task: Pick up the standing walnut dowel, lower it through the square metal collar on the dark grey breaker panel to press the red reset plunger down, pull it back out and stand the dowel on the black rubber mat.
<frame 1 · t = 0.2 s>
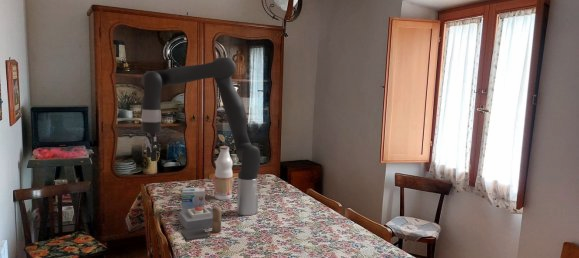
hand: (151, 159, 157), 29 cm above the table, fingers open, 8 cm apart
dowel: (216, 231, 158), on the table
fruit juice: (223, 198, 205), on the table
mat: (195, 234, 153), on the table
light bulb box: (192, 211, 181), on the table
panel: (198, 223, 166), on the table
plunger: (198, 212, 165), point 5 cm above the table, slide at 0.0 cm
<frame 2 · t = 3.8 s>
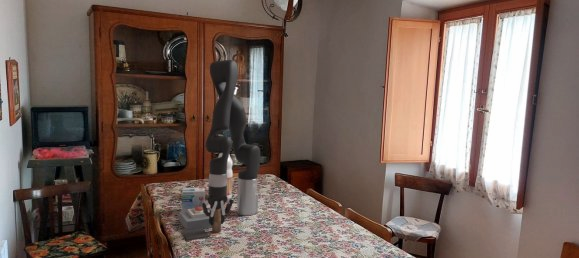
hand: (216, 223, 157), 3 cm above the table, fingers closed on dowel, 3 cm apart
dowel: (216, 231, 158), on the table, touching gripper
everything else where it was.
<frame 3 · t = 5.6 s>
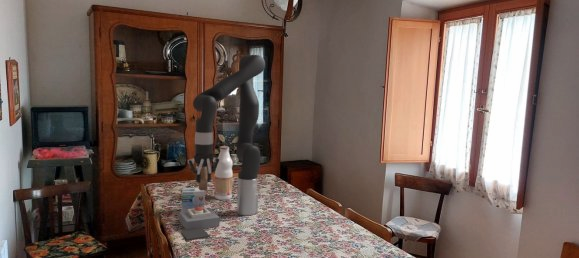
hand: (203, 181, 162), 19 cm above the table, fingers closed on dowel, 3 cm apart
dowel: (203, 189, 163), point 16 cm above the table, touching gripper
everything else where it was.
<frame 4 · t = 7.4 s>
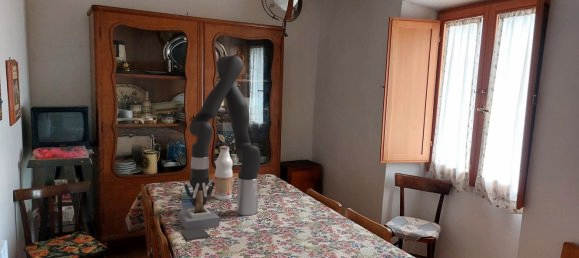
hand: (198, 205, 165), 8 cm above the table, fingers closed on dowel, 3 cm apart
dowel: (198, 212, 165), point 5 cm above the table, touching gripper, plunger
plunger: (198, 217, 166), point 3 cm above the table, slide at 2.1 cm, touching dowel
everything else where it was.
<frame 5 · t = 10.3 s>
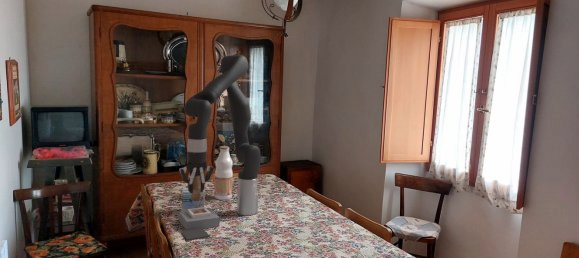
hand: (196, 192, 151), 18 cm above the table, fingers closed on dowel, 3 cm apart
dowel: (195, 199, 152), point 15 cm above the table, touching gripper
plunger: (198, 217, 166), point 3 cm above the table, slide at 2.1 cm
everything else where it was.
when the fingers open (4 cm above the table, at t = 12.9 s): dowel stays where it is, resting on mat.
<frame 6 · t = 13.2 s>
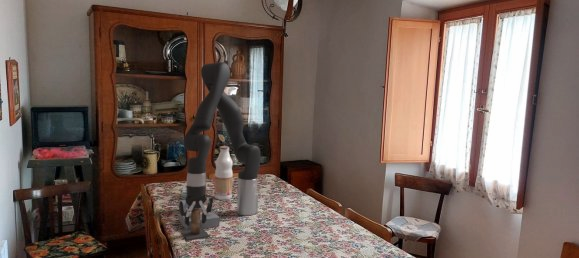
hand: (195, 223, 153), 5 cm above the table, fingers open, 6 cm apart
dowel: (195, 233, 153), point 1 cm above the table, touching mat
everything else where it was.
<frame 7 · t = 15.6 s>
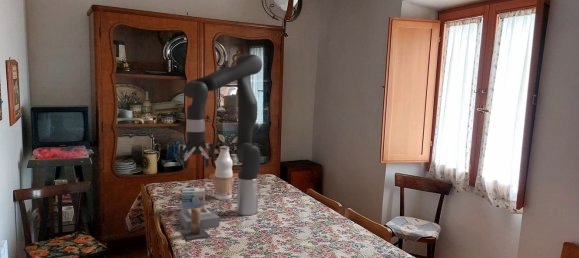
hand: (195, 168, 158), 26 cm above the table, fingers open, 8 cm apart
nothing on the table moved.
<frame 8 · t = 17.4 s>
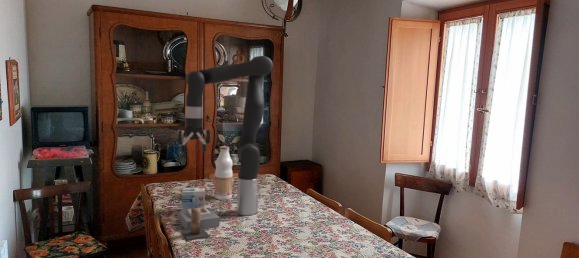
hand: (193, 152, 168), 30 cm above the table, fingers open, 8 cm apart
nothing on the table moved.
at the end: plunger slide at 2.1 cm; dowel 0.1 cm from the mat (horizontally); the gripper is holding nothing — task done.
